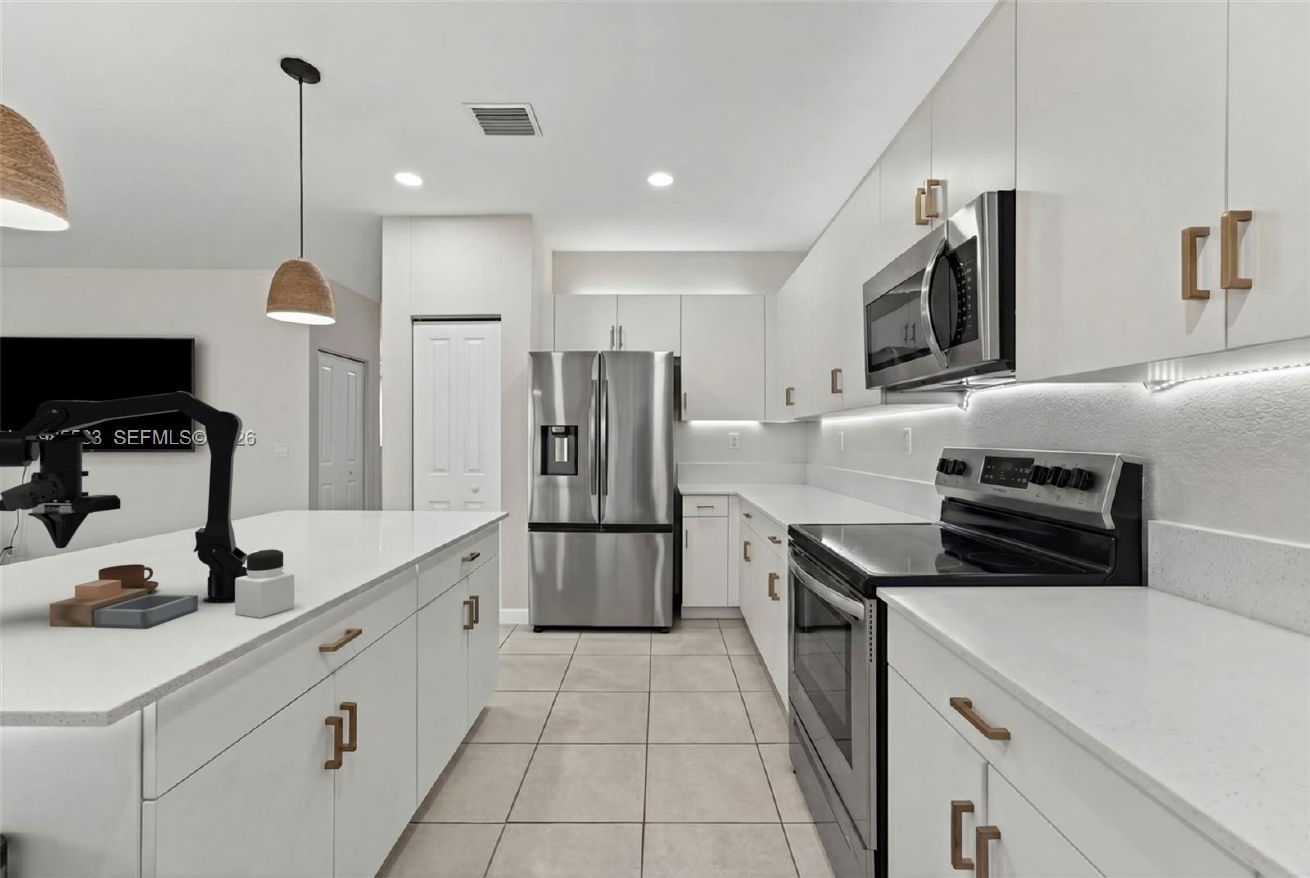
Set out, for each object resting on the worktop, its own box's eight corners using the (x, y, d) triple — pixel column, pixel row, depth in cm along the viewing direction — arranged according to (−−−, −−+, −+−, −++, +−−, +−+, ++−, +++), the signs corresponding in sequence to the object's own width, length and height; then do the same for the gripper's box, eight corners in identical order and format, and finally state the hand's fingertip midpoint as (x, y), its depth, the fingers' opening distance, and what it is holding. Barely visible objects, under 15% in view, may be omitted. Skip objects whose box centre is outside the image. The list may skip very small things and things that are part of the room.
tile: (121, 593, 114) (121, 580, 114) (97, 599, 109) (97, 586, 109) (99, 592, 114) (99, 579, 114) (74, 599, 109) (74, 585, 109)
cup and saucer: (114, 589, 131) (114, 562, 131) (172, 588, 133) (172, 561, 132) (66, 605, 119) (66, 575, 119) (130, 604, 121) (130, 574, 121)
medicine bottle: (294, 608, 118) (295, 549, 118) (260, 618, 111) (261, 555, 111) (269, 604, 120) (269, 546, 120) (234, 614, 114) (234, 553, 114)
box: (197, 610, 116) (197, 595, 116) (146, 628, 105) (146, 612, 105) (149, 609, 117) (149, 594, 117) (94, 627, 106) (94, 610, 106)
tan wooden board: (147, 609, 117) (147, 589, 117) (91, 627, 106) (91, 605, 106) (109, 608, 117) (109, 588, 117) (49, 625, 106) (49, 603, 106)
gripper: (-37, 468, 104) (-37, 555, 104) (62, 469, 103) (62, 558, 103) (33, 465, 115) (33, 544, 115) (123, 466, 114) (123, 546, 114)
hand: (61, 548), depth 112 cm, fingers closed
